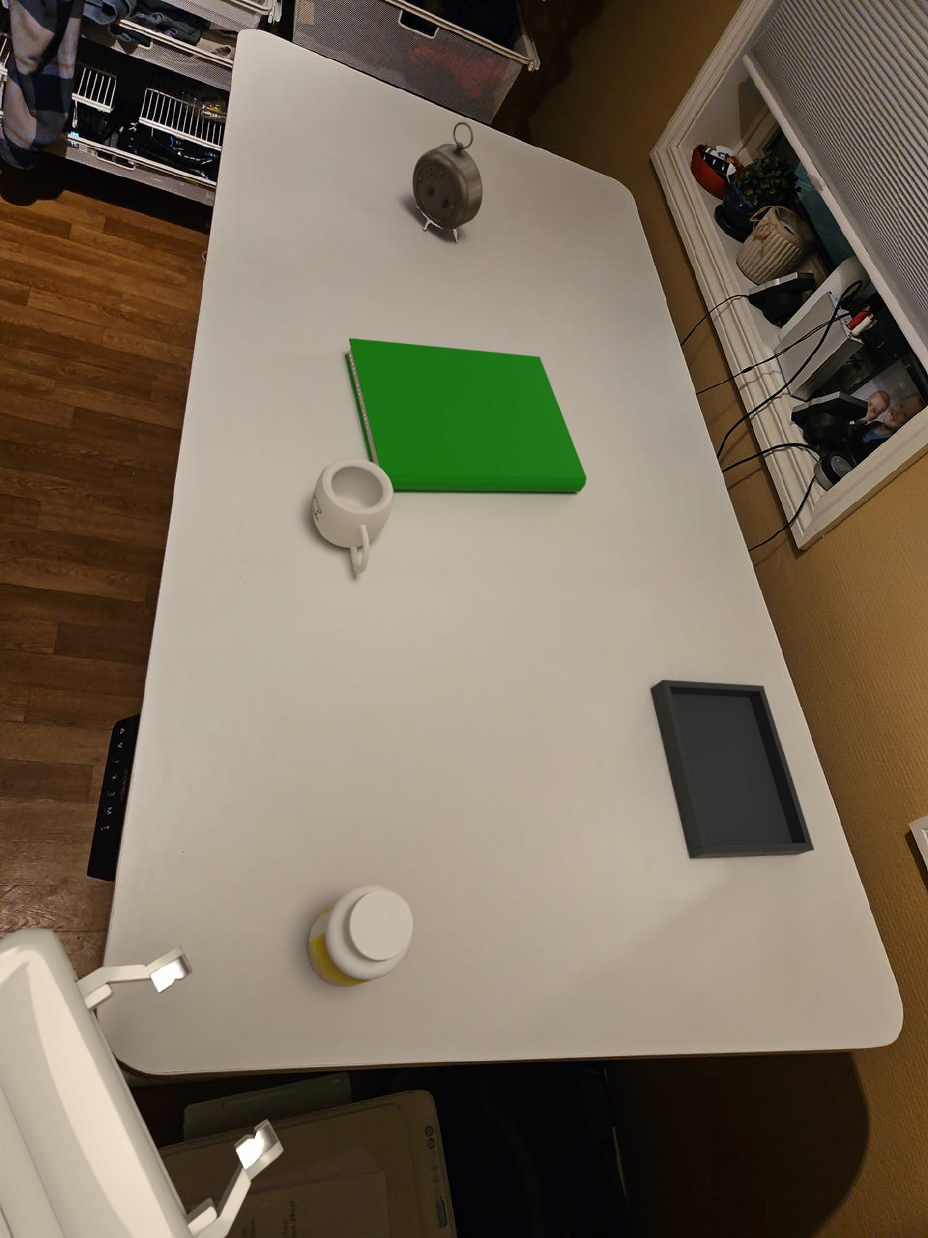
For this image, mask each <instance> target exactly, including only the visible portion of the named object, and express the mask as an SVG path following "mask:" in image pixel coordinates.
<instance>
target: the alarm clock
mask: <svg viewBox="0 0 928 1238" xmlns="http://www.w3.org/2000/svg"><path fill="white" fill-rule="evenodd" d="M461 125H463V126H465V127H467V128H468V130H469V132H470V142H469V144H468V145H466V146H464V143H462V142H461V141H460V142H459V141H458V140H457V138H456V137H457V136H456V130H457V129H458V127H459V126H461ZM452 135H453V136H452V137H453V141H454V142H455V144H454V143H444V144H441V145H439V146H437V147H435V148H431V149H429V150H427V151H426V152H423V154H422V155H421V156H420V157H419V158H418V160H417V162H416V163H415V166H414V168H413V174H412V191H413V197H414V200H415V203H416V205H417V206H418V207H419V208H420V210H421V211H422V212H423V213H424V214H425V215H426V216H427V217H428V218H429V219H430V220H432V221H433V222H434V223H435V224H437V225H438V226H440V227H441V228H443V229H445V230H444V231H453V229H456V228H457V229H458V228H460V227H461V226H463V225H465V224H467V223H470V222H471V221H472V220H473V219H475V217H476V216H477V214H478V213H479V211H480V209H481V206H482V202H483V190H484V189H483V181H482V176H481V174H480V171H479V168H478V166H477V164H476V161H475V160H474V159H473V157H472V156H471V155H470V154H469V152H468V151H466V149H468V148H470V147H471V145H472V144H473V141H474V132H473V129H472V127H471V126H470V125H469V123H467V122H466V121H459V122H457V123H456V124H455V125H454V127H453V131H452ZM420 210H419V211H420ZM421 211H420V212H421Z"/></svg>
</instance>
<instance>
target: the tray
mask: <svg viewBox="0 0 928 1238" xmlns="http://www.w3.org/2000/svg"><path fill="white" fill-rule="evenodd" d="M650 691H651V696H652V700H653V705H654V708H655V713H656V717H657V722H658V726H659V730H660V735H661V739H662V743H663V748H664V752H665V757H666V761H667V765H668V770H669V774H670V778H671V783H672V786H673V791H674V795H675V799H676V805H677V808H678V812H679V817H680V823H681V825H682V830H683V834H684V839H685V844H686V847H687V851H688V856H689V859H690V860H692V859H693V860H694V859H717V858H719V859H720V858H721V859H722V858H742V857H743V858H744V857H746V858H747V857H769V856H770V857H771V856H798V855H801V854H805V853H808V852H812V851H814V850H815V848H814V844H813V842H812V841H813V840H812V838H811V834H810V831H809V828H808V825H807V822H806V818H805V816H804V815H805V814H804V813H803V809H802V806H801V802H800V800H799V796H798V793H797V789H796V787H795V784H794V780H793V776H792V773H791V771H790V768H789V764H788V761H787V758H786V755H785V752H784V748H783V744H782V741H781V738H780V735H779V732H778V729H777V726H776V723H775V722H776V721H775V719H774V716H773V713H772V709H771V707H770V702H769V700H768V697H767V693H766V690H765V687H764V685H759V684H743V683H742V684H741V683H726V682H725V683H723V682H707V681H693V680H692V681H690V680H676V679H675V680H674V679H673V680H672V679H661V680H660V681H659V682H657V683H656V684H655V685H653V686H652V687H650Z"/></svg>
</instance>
